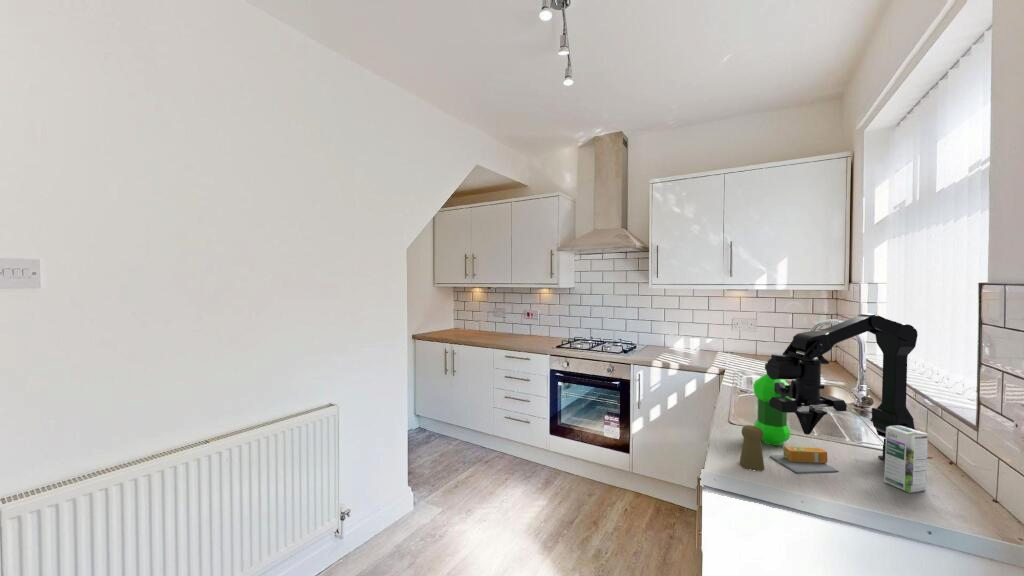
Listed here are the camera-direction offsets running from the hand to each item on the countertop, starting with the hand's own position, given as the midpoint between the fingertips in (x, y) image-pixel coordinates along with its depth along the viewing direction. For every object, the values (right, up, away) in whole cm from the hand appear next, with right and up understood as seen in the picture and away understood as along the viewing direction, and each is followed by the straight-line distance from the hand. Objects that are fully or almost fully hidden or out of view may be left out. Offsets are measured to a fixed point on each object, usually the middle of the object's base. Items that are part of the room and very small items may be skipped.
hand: (806, 434), depth 112 cm
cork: (-16, -9, -1) cm, 18 cm away
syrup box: (+16, -9, -12) cm, 22 cm away
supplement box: (+6, -6, +1) cm, 9 cm away
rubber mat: (-1, -9, 0) cm, 9 cm away
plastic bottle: (0, -8, +15) cm, 17 cm away
